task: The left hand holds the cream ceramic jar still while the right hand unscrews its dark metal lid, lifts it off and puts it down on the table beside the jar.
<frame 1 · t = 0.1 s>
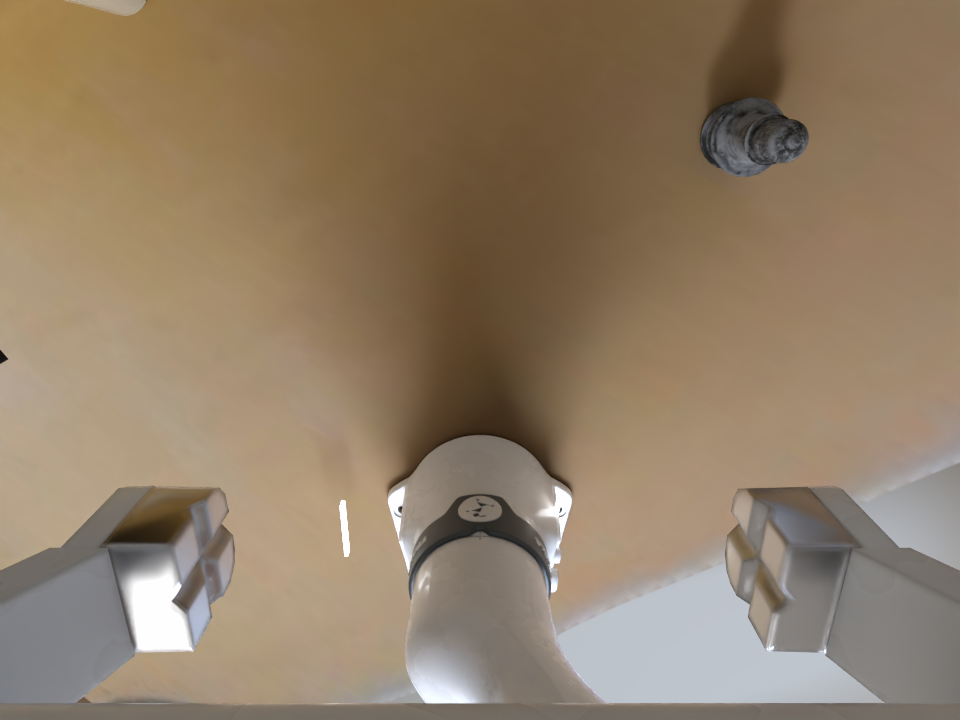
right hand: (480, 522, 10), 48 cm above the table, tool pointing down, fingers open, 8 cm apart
grey chess piece: (731, 136, 54), on the table
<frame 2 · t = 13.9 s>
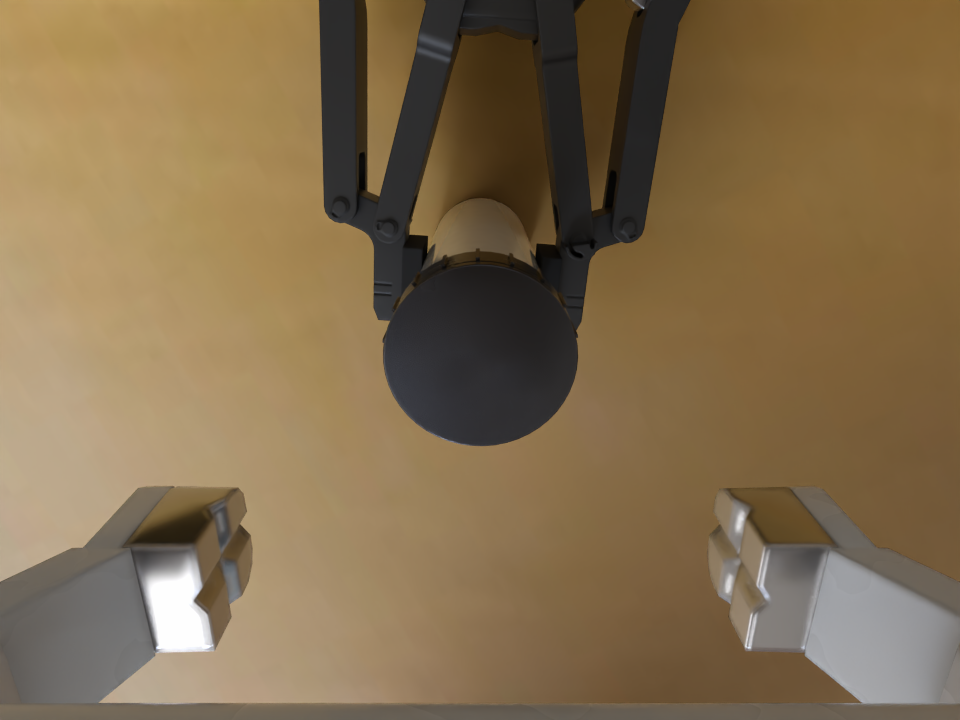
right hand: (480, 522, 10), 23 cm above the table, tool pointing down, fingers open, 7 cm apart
left hand: (471, 394, 28), fingers closed on jar, 5 cm apart
jar: (480, 245, 31), on the table, touching left hand
lid: (480, 355, 17), point 15 cm above the table, screwed on, not yet turned
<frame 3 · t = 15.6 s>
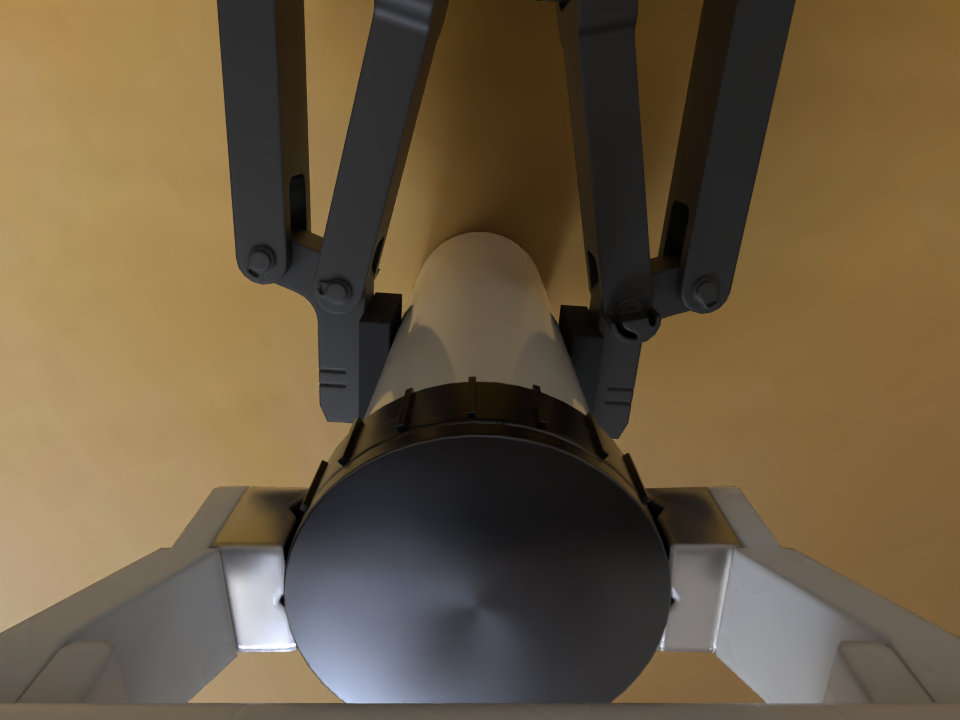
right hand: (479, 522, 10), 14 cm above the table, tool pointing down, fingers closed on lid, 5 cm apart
left hand: (466, 517, 19), fingers closed on jar, 5 cm apart
jar: (479, 295, 23), on the table, touching left hand
lid: (477, 589, 9), point 15 cm above the table, screwed on, not yet turned, touching right hand
when the right hand's fingers open (14 cm above the table, at t = 16.7 s): lid stays where it is, point 15 cm above the table.
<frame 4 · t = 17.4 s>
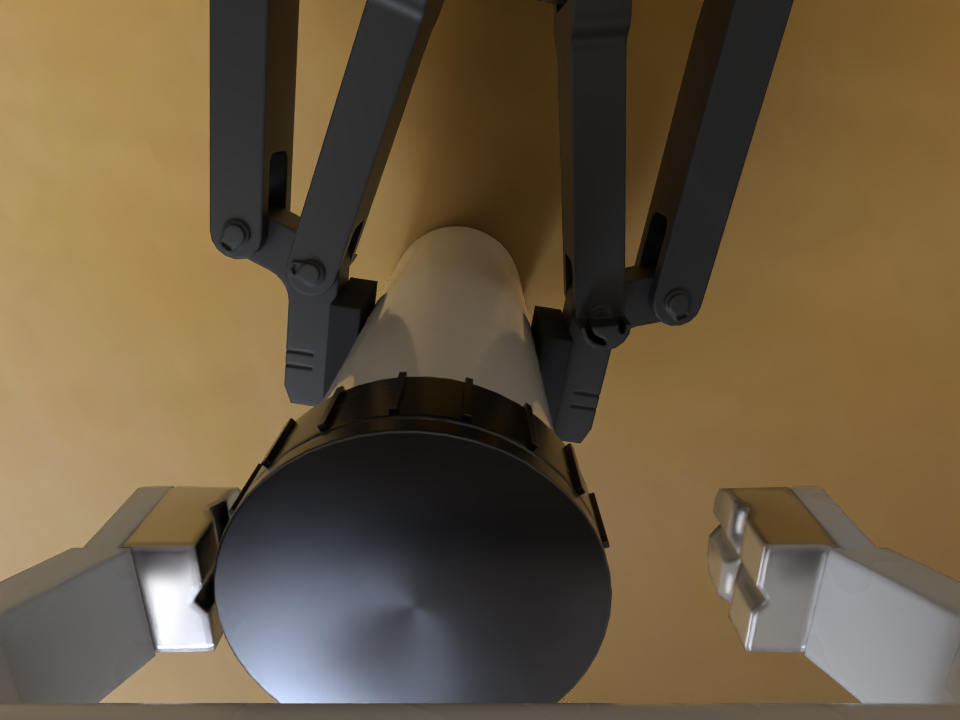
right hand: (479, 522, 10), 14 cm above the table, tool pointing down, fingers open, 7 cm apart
left hand: (424, 510, 19), fingers closed on jar, 5 cm apart
jar: (456, 289, 23), on the table, touching left hand
lid: (415, 589, 9), point 15 cm above the table, turned 68° so far, risen 0.2 cm, still on its thread
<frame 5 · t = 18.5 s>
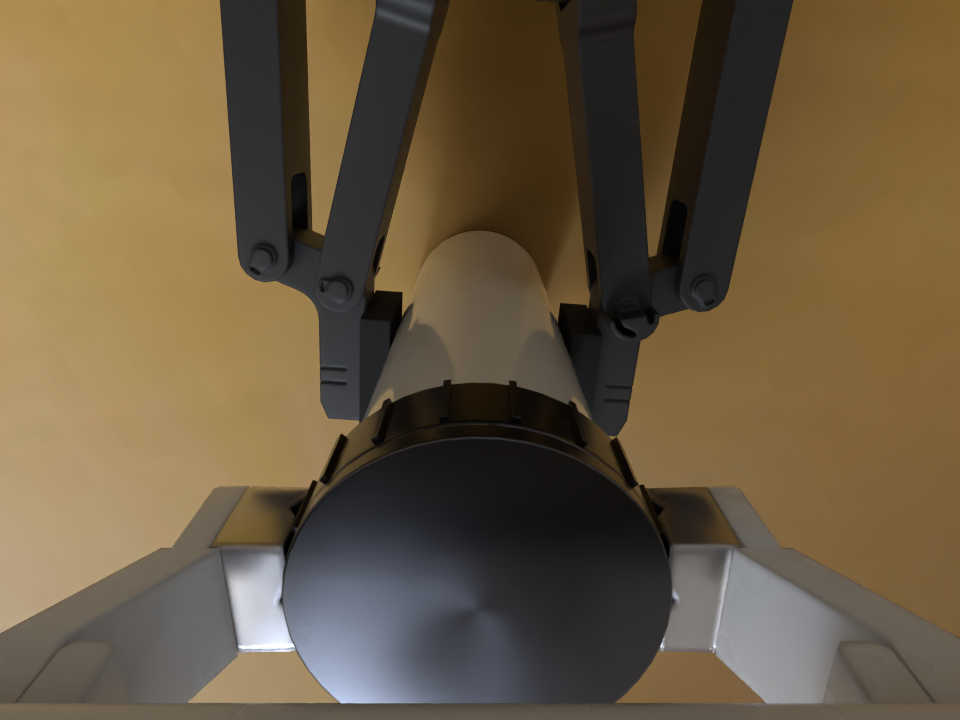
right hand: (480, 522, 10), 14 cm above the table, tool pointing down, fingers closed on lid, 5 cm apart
left hand: (466, 514, 19), fingers closed on jar, 5 cm apart
jar: (479, 293, 23), on the table, touching left hand
lid: (477, 591, 9), point 15 cm above the table, turned 68° so far, risen 0.2 cm, still on its thread, touching right hand
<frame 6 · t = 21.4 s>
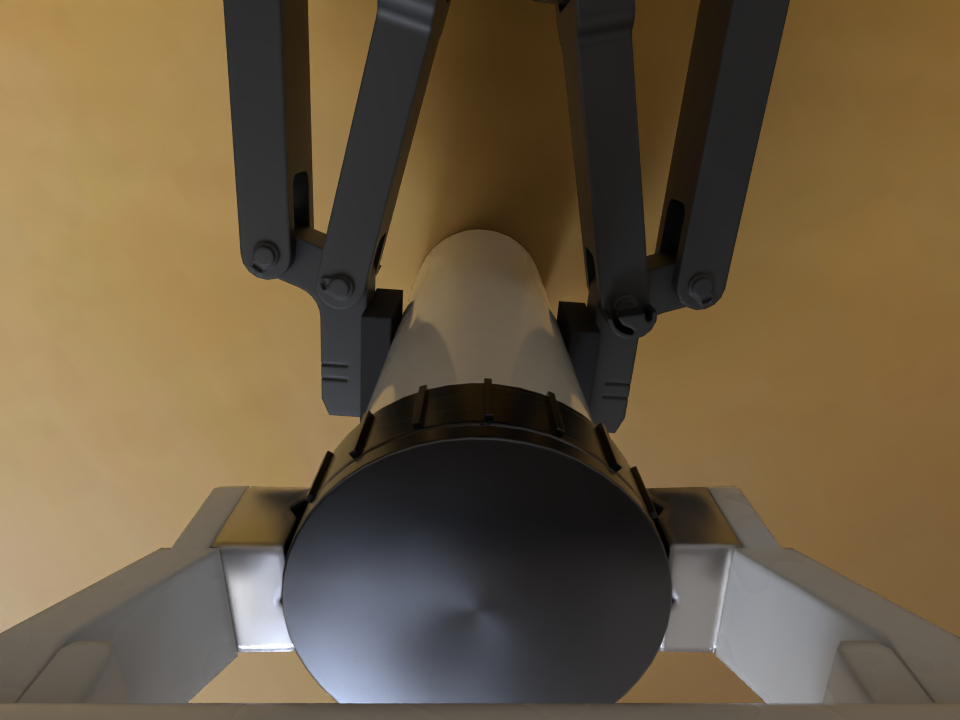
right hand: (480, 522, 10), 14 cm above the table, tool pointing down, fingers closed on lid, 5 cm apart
left hand: (466, 510, 20), fingers closed on jar, 5 cm apart
jar: (478, 292, 23), on the table, touching left hand
lid: (477, 592, 9), point 16 cm above the table, turned 135° so far, risen 0.4 cm, still on its thread, touching right hand
when the right hand's fingers open (2 cm above the table, at t = 28.1 s): lid drops 2 cm, point 1 cm above the table.
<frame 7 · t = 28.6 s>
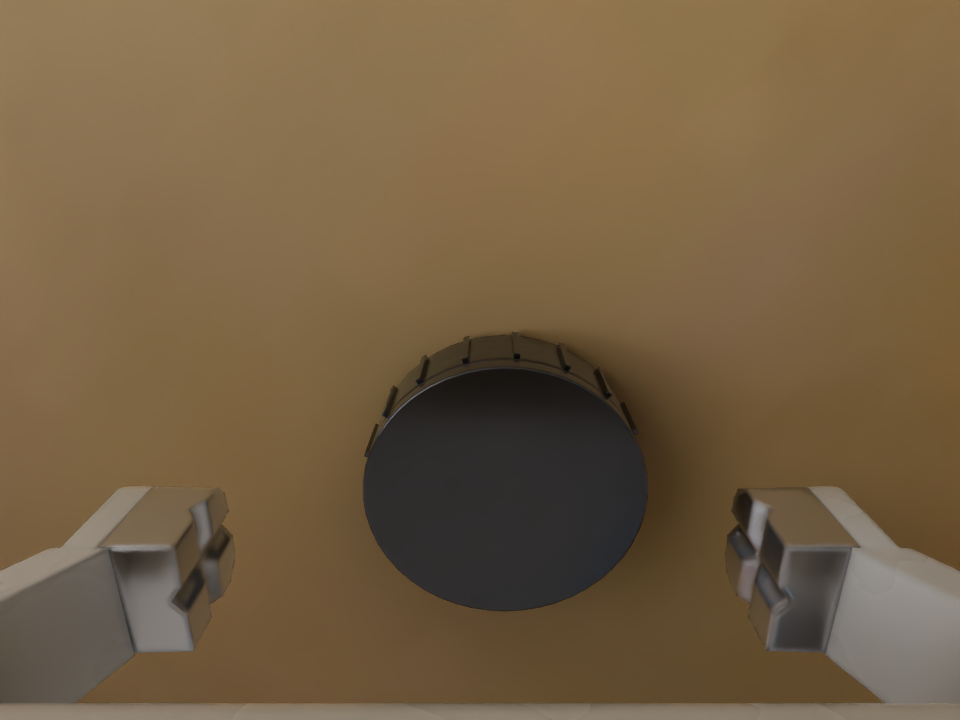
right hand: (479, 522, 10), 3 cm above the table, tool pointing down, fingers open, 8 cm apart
lid: (504, 488, 12), point 1 cm above the table, off its thread
when the left hand's fingers open (6 cm above the table, at t = 29.0 s): jar stays where it is, on the table.
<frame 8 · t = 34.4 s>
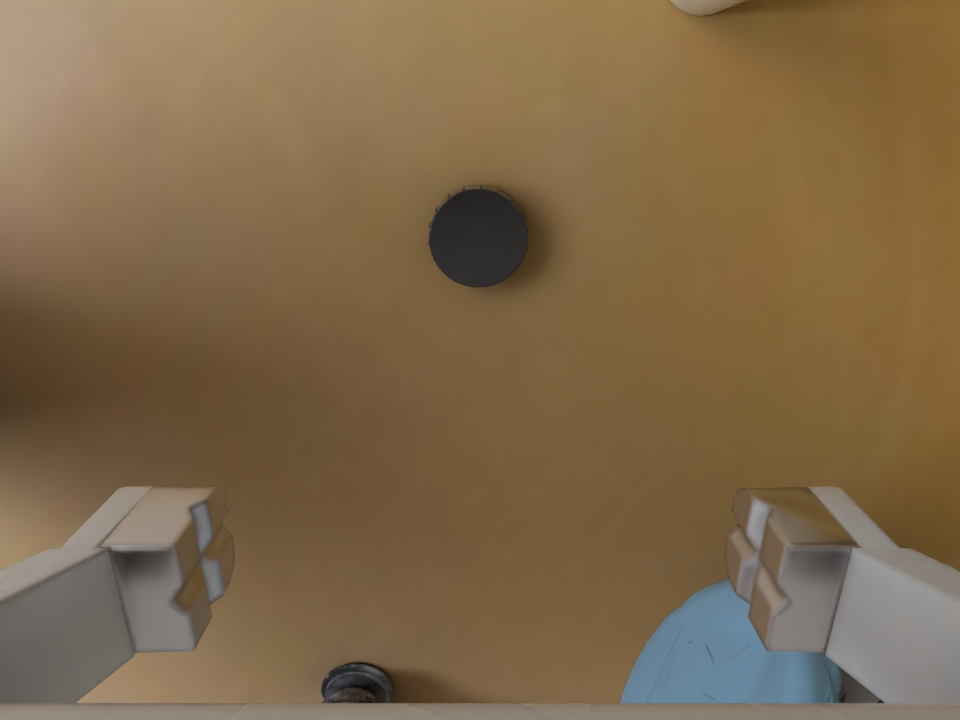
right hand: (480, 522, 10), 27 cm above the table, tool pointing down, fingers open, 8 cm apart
grey chess piece: (358, 688, 47), on the table
lid: (478, 238, 34), point 1 cm above the table, off its thread
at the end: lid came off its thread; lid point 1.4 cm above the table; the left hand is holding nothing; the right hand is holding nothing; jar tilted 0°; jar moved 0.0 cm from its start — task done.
